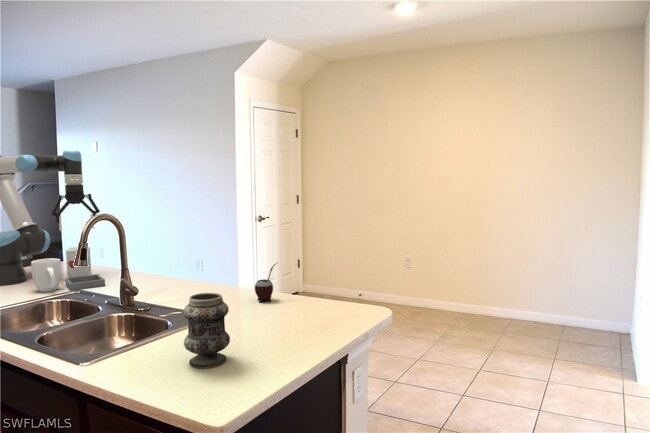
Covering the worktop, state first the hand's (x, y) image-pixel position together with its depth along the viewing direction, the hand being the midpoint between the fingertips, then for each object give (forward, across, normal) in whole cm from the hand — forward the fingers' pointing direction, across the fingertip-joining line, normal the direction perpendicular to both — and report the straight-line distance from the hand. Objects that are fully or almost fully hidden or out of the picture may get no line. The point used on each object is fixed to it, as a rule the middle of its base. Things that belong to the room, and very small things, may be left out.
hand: (77, 229), depth 228 cm
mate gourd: (+25, +53, -87) cm, 105 cm away
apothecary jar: (+25, +12, -131) cm, 134 cm away
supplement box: (+24, 0, 0) cm, 24 cm away
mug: (+24, -15, -15) cm, 32 cm away
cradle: (+24, 0, -15) cm, 28 cm away
